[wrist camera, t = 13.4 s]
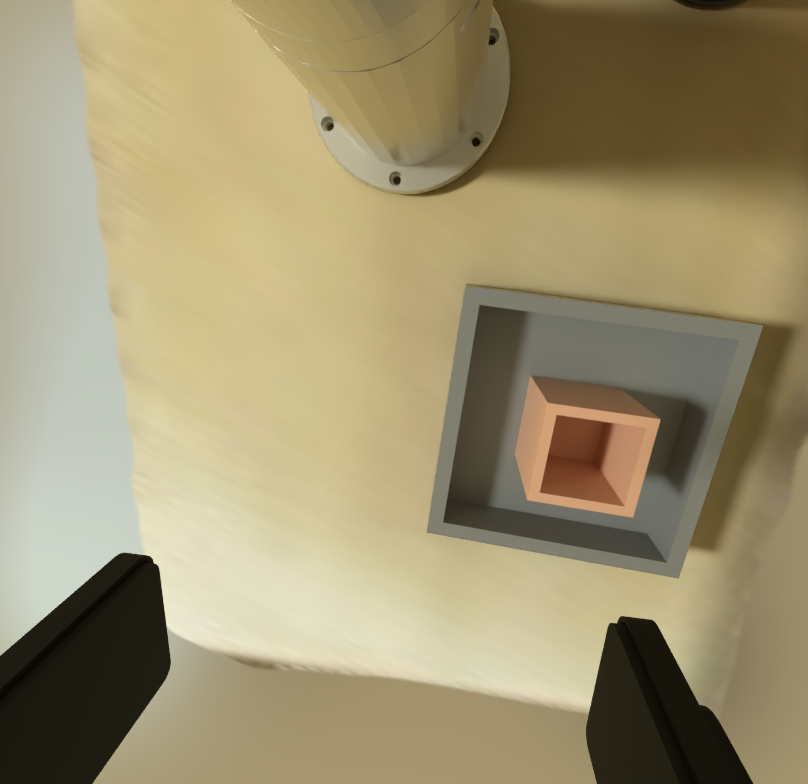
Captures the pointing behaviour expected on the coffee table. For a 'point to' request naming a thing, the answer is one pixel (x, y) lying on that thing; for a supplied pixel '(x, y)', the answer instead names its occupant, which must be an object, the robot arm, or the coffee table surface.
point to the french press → (710, 3)
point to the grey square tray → (596, 364)
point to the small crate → (584, 445)
